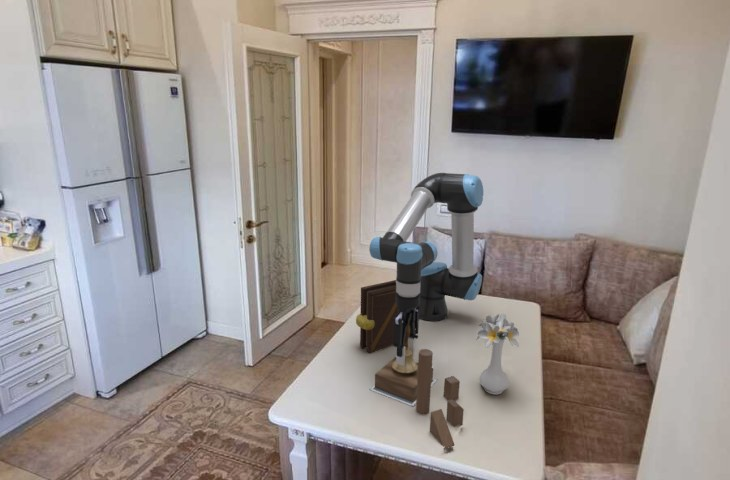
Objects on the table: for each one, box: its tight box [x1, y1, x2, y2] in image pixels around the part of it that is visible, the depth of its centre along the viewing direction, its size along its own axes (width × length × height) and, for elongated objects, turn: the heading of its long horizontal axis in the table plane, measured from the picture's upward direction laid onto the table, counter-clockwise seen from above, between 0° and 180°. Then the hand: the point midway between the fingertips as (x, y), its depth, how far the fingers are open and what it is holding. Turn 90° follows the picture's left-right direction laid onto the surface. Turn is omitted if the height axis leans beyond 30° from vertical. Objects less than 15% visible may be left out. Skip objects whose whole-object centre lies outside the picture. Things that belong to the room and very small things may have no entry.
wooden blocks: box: [415, 348, 465, 450], centre depth 129 cm, size 17×20×20 cm
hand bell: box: [392, 322, 418, 373], centre depth 143 cm, size 8×8×16 cm
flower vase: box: [475, 312, 520, 396], centre depth 144 cm, size 13×18×25 cm
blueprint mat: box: [368, 377, 438, 408], centre depth 147 cm, size 18×16×1 cm
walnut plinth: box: [374, 356, 434, 402], centre depth 146 cm, size 14×14×5 cm
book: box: [355, 279, 404, 355], centre depth 170 cm, size 22×8×25 cm, turn 123°
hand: (405, 360), depth 145 cm, fingers closed on hand bell, 6 cm apart
